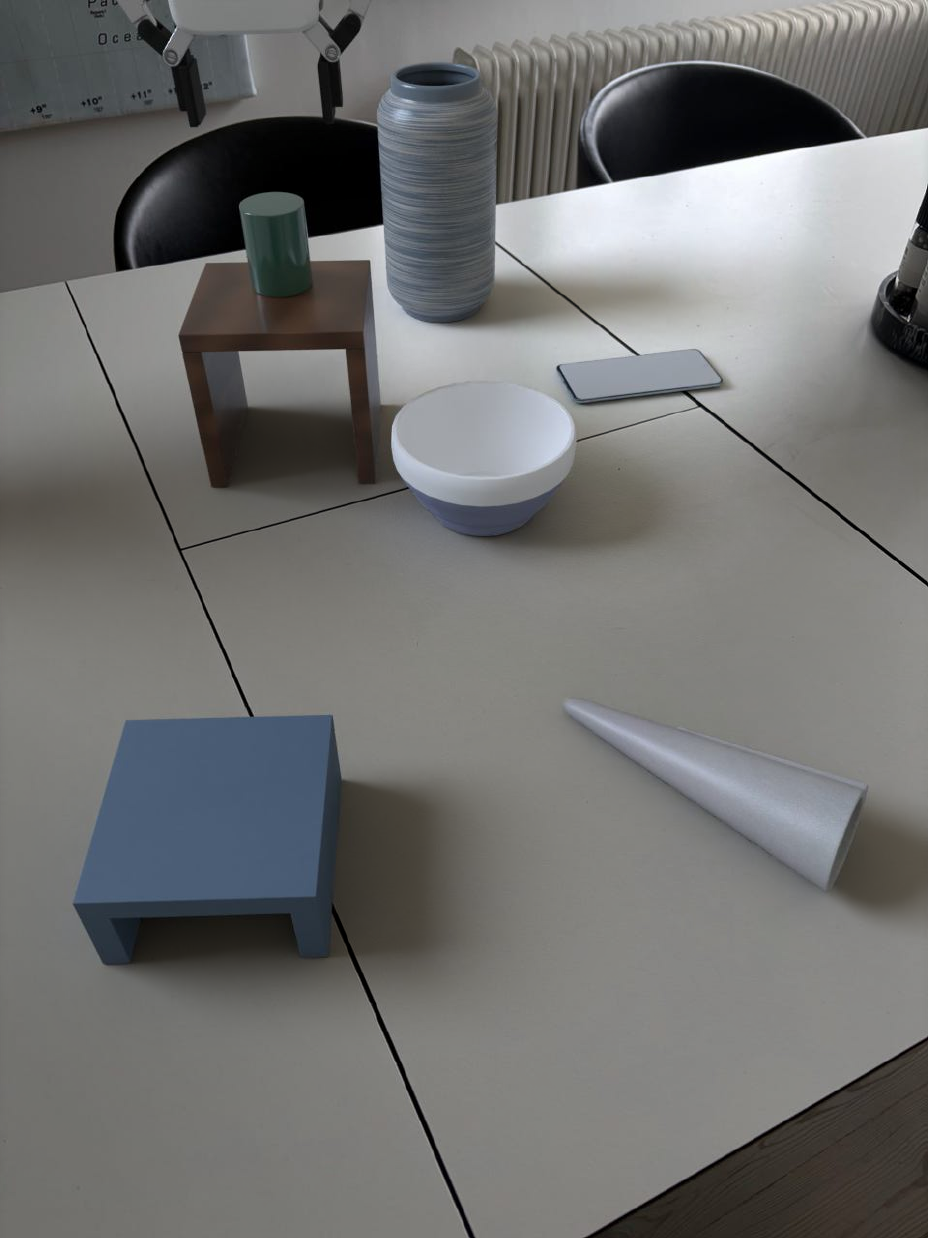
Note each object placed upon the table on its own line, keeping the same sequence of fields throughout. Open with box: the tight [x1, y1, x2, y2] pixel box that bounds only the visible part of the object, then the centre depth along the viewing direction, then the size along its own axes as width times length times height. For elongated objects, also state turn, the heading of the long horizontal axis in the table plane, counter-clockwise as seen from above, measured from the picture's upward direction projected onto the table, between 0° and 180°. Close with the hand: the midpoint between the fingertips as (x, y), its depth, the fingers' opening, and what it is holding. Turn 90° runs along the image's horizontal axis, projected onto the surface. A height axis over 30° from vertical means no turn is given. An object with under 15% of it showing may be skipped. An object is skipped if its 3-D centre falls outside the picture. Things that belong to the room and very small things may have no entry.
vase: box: [376, 61, 498, 324], centre depth 102 cm, size 12×12×23 cm
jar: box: [238, 191, 313, 297], centre depth 80 cm, size 5×5×6 cm
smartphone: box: [555, 348, 724, 404], centre depth 98 cm, size 7×1×15 cm
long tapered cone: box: [562, 696, 869, 893], centre depth 60 cm, size 6×6×19 cm
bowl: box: [390, 380, 578, 537], centre depth 80 cm, size 14×14×8 cm
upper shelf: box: [177, 259, 382, 488], centre depth 85 cm, size 14×13×14 cm
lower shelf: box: [72, 714, 343, 965], centre depth 56 cm, size 12×12×6 cm
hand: (264, 119), depth 74 cm, fingers open, 9 cm apart
